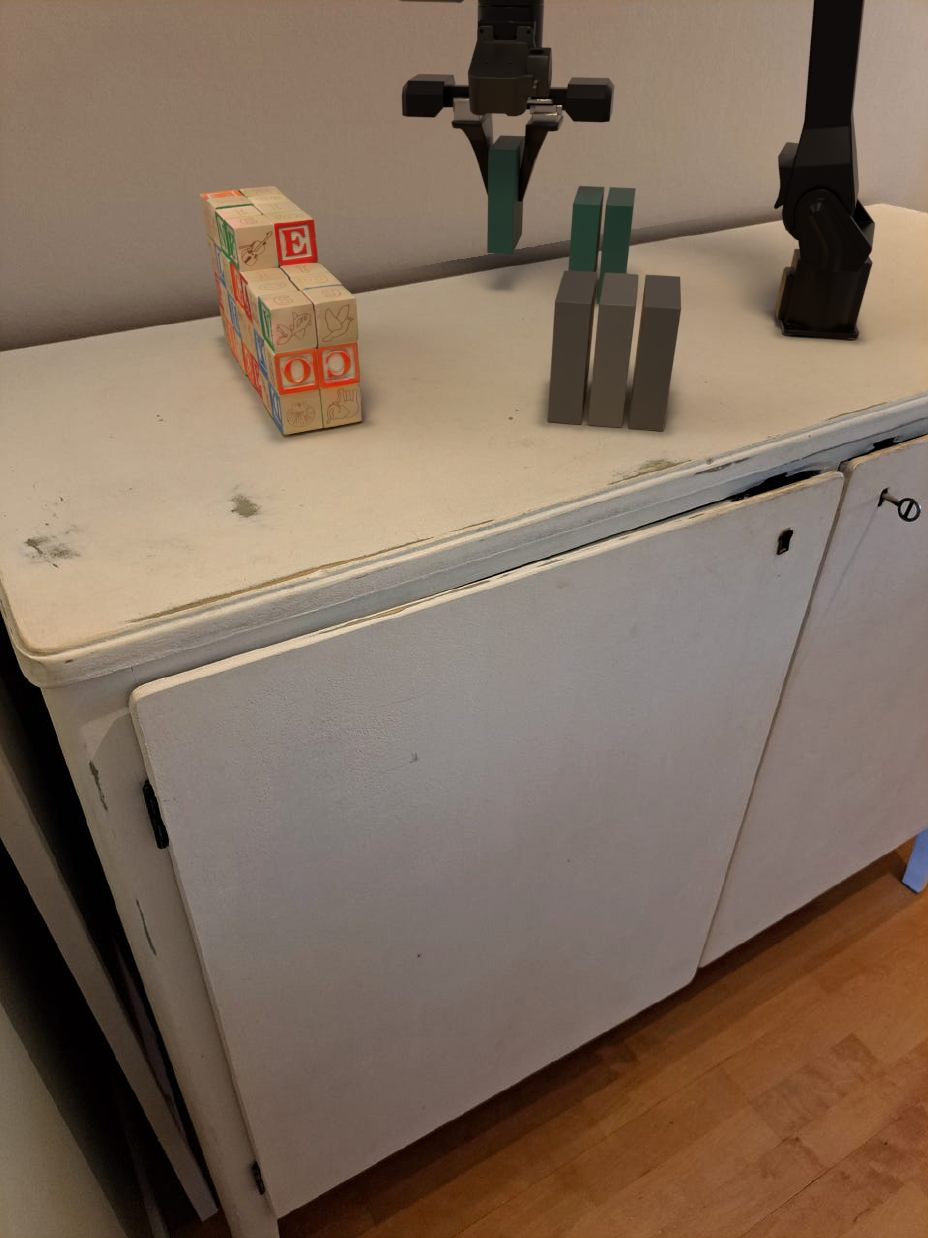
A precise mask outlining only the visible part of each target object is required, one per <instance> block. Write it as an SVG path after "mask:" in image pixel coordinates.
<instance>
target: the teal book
mask: <svg viewBox="0 0 928 1238" xmlns="http://www.w3.org/2000/svg"><path fill="white" fill-rule="evenodd" d="M524 142H525V135H502V134H501V135H499V136H498V138H496V140H495V141H494V142H493V143H494V144H493V145H492V146H491V148H490V149H489V159H488V195H487V233H486V235H487V239H486V240H487V242H486V243H487V244H486V247H487V248H486V252H487V254H496V255H497V254H499V255H500V254H501V255H514V252H515V250H516V248H517V245H518V244H519V242H520V239H521V237H522V235H523V217H524V200H523V201H522V202H519V201H518V193H519V178H520V171H521V164H522V157H523V150H524Z"/></svg>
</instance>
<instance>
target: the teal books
mask: <svg viewBox="0 0 928 1238" xmlns="http://www.w3.org/2000/svg"><path fill="white" fill-rule="evenodd" d="M604 198H605V186H591V185H579V186H578V187H577V191H576V193H575V197H574V200H573V203H572V211H571V213H572V214H571V226H570V227H571V228H570V241H569V255H568V257H569V258H568V269H567V270H569V271H587V272H597V273H598V268H599V275H598V277H599V278H598V286H597V296H596V297H597V298H596V304H597V305H599V301H600V296H601V290H602V285H603V279H604V274H605V273H624V274H628V273H627V272H628V265H629V264H628V263H629V256H630V255H629V253H630V244H631V237H632V236H631V235H632V226H633V216H634V208H635V198H636V187H618V186H617V187H614V186H610V187H609V189H608V193H607V198H606V203H605V211H604V209H603V208H604V200H605V199H604ZM603 211H604V220H603ZM602 220H603V232H602ZM601 232H602V244H601V243H600V242H601ZM600 244H601V252H600ZM600 253H601V254H600ZM599 255H600V263H599ZM599 264H600V265H599ZM598 265H599V267H598Z"/></svg>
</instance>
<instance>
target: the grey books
mask: <svg viewBox="0 0 928 1238" xmlns="http://www.w3.org/2000/svg"><path fill="white" fill-rule="evenodd" d="M598 274H599V273H598V271H597V272H587V271H569V270H568V269H565V270H564V271H563V273H562V277H561V280H560V284H559V287H558V289H557V290H558V291H557V294H556V297H555V300H554V311H553V312H554V313H553V326H552V327H553V329H552V344H551V359H550V360H551V361H550V374H549V375H550V376H549V391H548V405H547V422H548V423H557V424H559V423H560V424H568V425H569V424H571V425H582V421H583V416H584V411H585V410H584V409H585V403H586V398H587V392H588V386H589V377H590V376H589V375H590V365H591V353H592V343H593V341H592V340H593V331H594V319H595V310H596V309H595V307H596V299H597V298H596V297H597V288H598V286H597V285H598V277H599V275H598ZM639 276H640V275H639V274H638V273H626V274H624V273H605V274H604V279H603V285H602V290H601V296H600V301H599V304H598V309H597V320H596V333H595V343H594V354H593V365H592V374H591V375H592V376H591V387H590V396H589V398H590V399H589V407H588V408H589V409H588V418H587V425H588V426H594V427H595V426H596V427H597V426H598V427H609V428H622V427H623V421H624V411H625V403H626V395H627V386H628V377H629V371H630V361H631V353H632V343H633V337H634V336H633V335H634V328H635V320H636V319H635V318H636V311H637V301H638V291H639V289H638V288H639ZM643 285H644V286H643V293H642V294H643V295H642V301H641V310H640V319H639V328H638V336H637V341H636V342H637V344H636V352H635V360H634V367H633V376H632V385H631V394H630V395H631V396H630V408H629V419H628V429H631V430H643V431H657V432H663V431H664V429H665V428H664V427H665V421H666V413H667V407H668V401H669V394H670V389H671V387H670V386H671V381H672V373H673V367H674V360H675V354H676V347H677V340H678V333H679V328H680V327H679V326H680V321H681V320H680V319H681V313H682V293H681V292H682V290H681V289H682V288H681V276H679V275H678V276H677V275H676V276H675V275H661V274H645V277H644V284H643Z"/></svg>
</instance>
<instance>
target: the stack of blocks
mask: <svg viewBox="0 0 928 1238" xmlns="http://www.w3.org/2000/svg"><path fill="white" fill-rule="evenodd" d="M199 199H200V203H201V204H200V205H201V209H202V215H203V219H204V225H205V229H206V237H207V243H208V248H209V254H210V255H209V256H210V262H211V267H212V269H213V272H214V278H215V284H216V289H217V295H218V301H219V312H220V317H221V323H222V328H223V332H224V338H225V340H226V342H227V344H228V346H229V347H230V350H231V353H232V354H233V356H234V357H235V360H236V362H238V364H239V366H240V368H241V369H242V371H243V373H244V374H245V375H247V376H248V379H249V381H250V382H251V383H252V385H253V387H254V388H255V389H256V390H257V392H258V394H259V396H260V398H261V399H262V402H263V404H264V407H265V408H266V409H267V412H268V413H269V415H270V417H272V419H273V420H274V423H275V424H276V426H277V427H278V429H279V430H280V433H281V434H282V435H283V436H286V435H291V434H298V433H302V432H309V431H315V430H320V429H325V428H326V429H327V428H331V427H337V426H342V425H347V424H349V425H350V424H353V423H354V424H355V423H359V422H362V421H363V411H362V409H363V408H362V397H361V386H360V383H361V374H360V373H361V372H360V360H359V359H360V358H359V347H358V341H359V324H358V323H359V322H358V310H357V298H356V296H355V295H353V293H352V292H350V291H349V290H348V289H347V288H346V287H345V286H343V283H342V282H341V281H340V280H338V278H336V277H335V276H334V275H333V274H332V273H330V271H329V270H328V269H327V268H326V267H325V266H324V265H323V264H321V263H319V255H318V246H317V236H316V226H315V219H314V218H313V217H311V216H310V215H309V214H308V213H307V212H306V211H304V210H302V209H301V208H300V207H299V206H298V205H296V204H295V203H294V202H293V201H292V200H290V199H289V198H288V197H287V196H286V195H284V193H283V192H282V191H281V190H280V189H279V188H277V187H276V186H275V185H268V186H258V187H248V188H247V187H246V188H239V189H229V190H228V189H227V190H219V191H212V192H211V191H209V192H202V193H199Z"/></svg>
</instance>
